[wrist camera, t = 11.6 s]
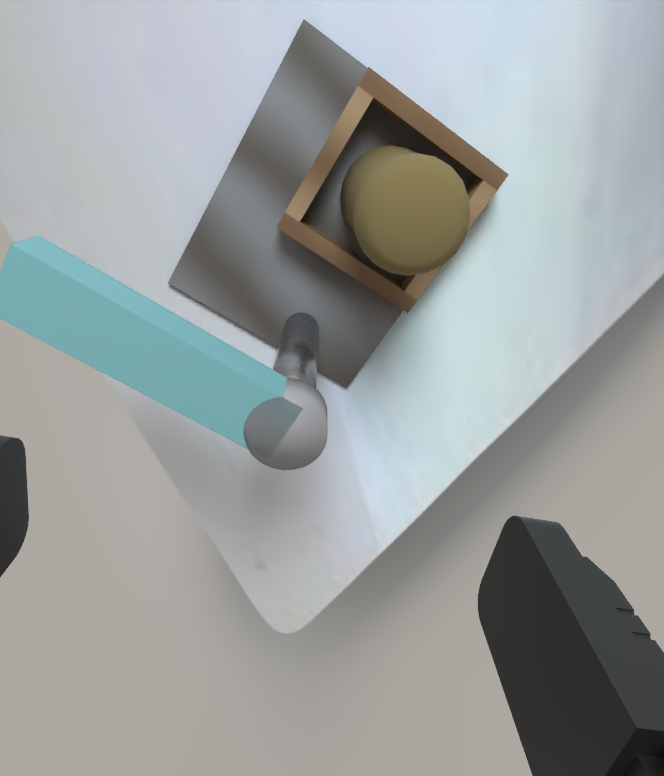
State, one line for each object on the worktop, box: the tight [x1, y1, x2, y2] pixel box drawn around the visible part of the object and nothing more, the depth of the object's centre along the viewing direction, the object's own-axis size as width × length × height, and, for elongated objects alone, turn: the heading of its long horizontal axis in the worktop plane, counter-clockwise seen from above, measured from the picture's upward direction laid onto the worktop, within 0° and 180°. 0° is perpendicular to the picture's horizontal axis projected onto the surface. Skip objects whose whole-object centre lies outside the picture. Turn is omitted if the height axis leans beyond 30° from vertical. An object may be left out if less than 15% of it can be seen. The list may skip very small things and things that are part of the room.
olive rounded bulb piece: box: [340, 144, 470, 276], centre depth 27 cm, size 6×6×11 cm
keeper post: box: [273, 313, 319, 388], centre depth 30 cm, size 2×2×12 cm
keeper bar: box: [0, 236, 327, 470], centre depth 22 cm, size 14×4×2 cm, turn 57°
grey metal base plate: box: [168, 20, 508, 388], centre depth 32 cm, size 17×14×2 cm
